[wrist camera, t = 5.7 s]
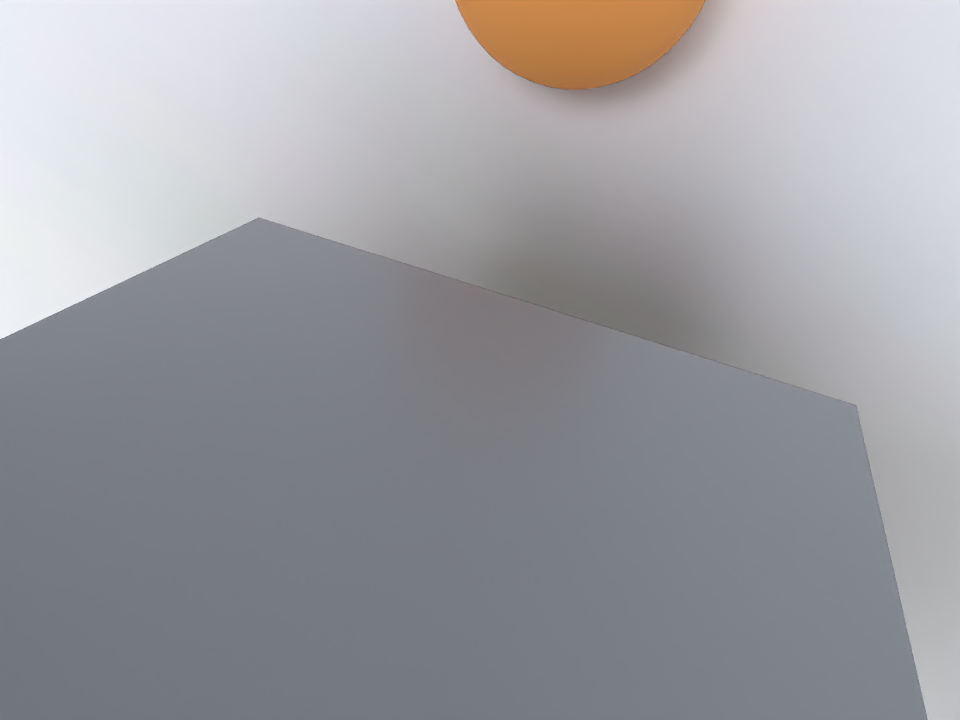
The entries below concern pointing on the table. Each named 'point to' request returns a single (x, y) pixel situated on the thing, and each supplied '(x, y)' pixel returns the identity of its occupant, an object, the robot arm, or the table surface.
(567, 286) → the table surface
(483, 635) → the grey matte cube
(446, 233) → the table surface
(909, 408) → the table surface
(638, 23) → the ball
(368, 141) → the table surface
